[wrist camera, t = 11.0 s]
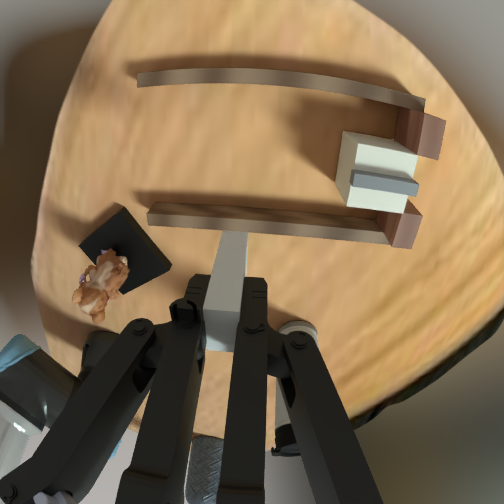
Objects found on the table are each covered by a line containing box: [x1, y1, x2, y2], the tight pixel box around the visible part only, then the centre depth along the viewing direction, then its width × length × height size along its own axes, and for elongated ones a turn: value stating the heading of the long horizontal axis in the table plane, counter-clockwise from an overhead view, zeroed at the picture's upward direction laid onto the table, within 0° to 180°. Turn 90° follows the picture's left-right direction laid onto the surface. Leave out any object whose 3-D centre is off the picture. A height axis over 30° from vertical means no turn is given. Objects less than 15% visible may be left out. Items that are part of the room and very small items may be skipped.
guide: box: [137, 68, 446, 249], centre depth 27 cm, size 29×17×6 cm, turn 87°
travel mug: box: [271, 321, 319, 457], centre depth 37 cm, size 6×7×20 cm
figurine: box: [72, 207, 172, 324], centre depth 34 cm, size 10×10×12 cm
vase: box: [185, 436, 224, 504], centre depth 67 cm, size 12×12×28 cm
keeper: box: [335, 131, 419, 214], centre depth 26 cm, size 6×6×7 cm
